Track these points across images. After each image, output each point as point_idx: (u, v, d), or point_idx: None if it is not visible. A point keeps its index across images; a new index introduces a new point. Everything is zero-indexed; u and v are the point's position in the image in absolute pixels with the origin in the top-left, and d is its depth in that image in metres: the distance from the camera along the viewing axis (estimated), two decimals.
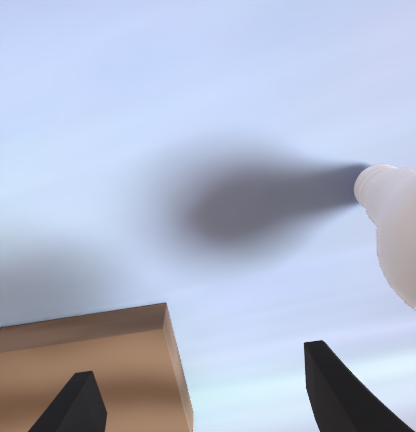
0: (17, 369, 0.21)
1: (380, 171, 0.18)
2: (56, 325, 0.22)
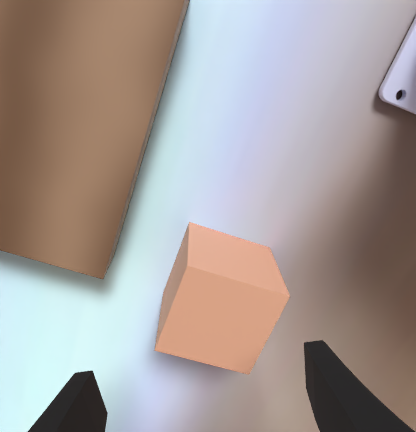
0: None
1: None
2: None
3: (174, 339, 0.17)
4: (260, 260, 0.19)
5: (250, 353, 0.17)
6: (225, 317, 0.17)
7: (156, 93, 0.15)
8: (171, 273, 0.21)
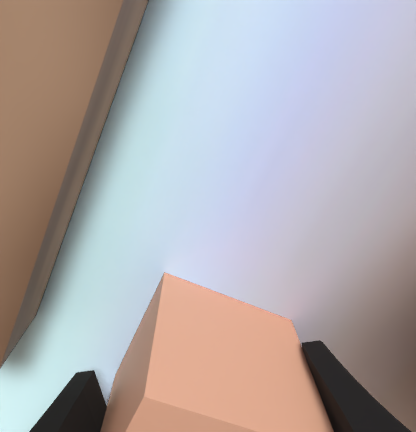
0: None
1: None
2: None
3: None
4: (280, 356, 0.11)
5: None
6: None
7: (113, 26, 0.07)
8: (128, 353, 0.13)
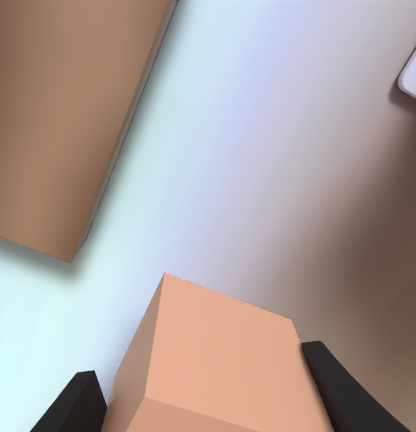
0: None
1: None
2: None
3: None
4: (280, 356, 0.11)
5: None
6: None
7: (149, 49, 0.13)
8: (128, 353, 0.13)
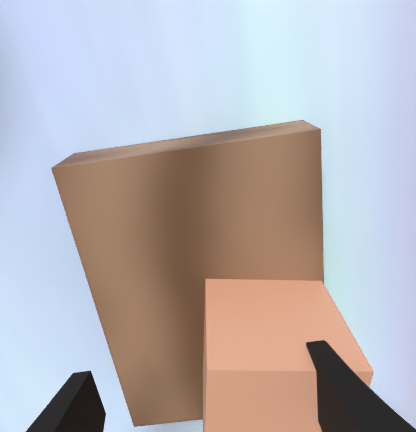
0: (140, 352, 0.17)
1: None
2: None
3: None
4: (313, 312, 0.13)
5: None
6: (286, 419, 0.11)
7: (321, 235, 0.14)
8: None
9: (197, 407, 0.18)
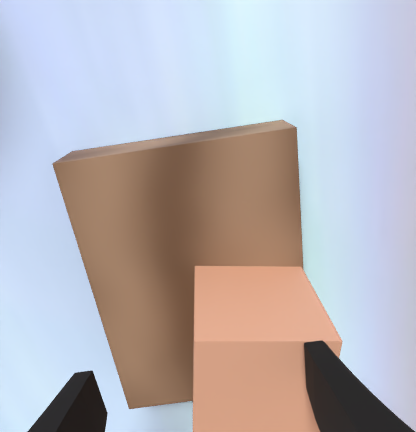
0: (134, 336, 0.18)
1: None
2: None
3: (211, 428, 0.13)
4: (292, 293, 0.14)
5: (313, 419, 0.13)
6: (266, 387, 0.13)
7: (299, 224, 0.16)
8: None
9: (188, 389, 0.19)
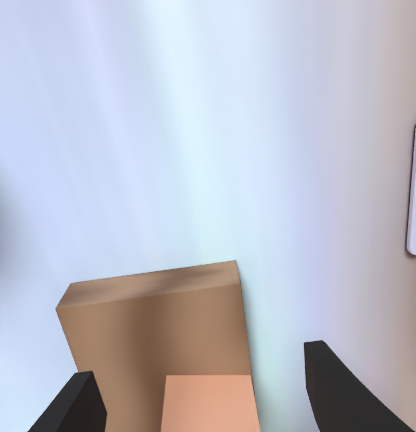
0: (120, 424, 0.22)
1: None
2: None
3: None
4: (237, 407, 0.19)
5: None
6: None
7: (247, 346, 0.20)
8: None
9: None
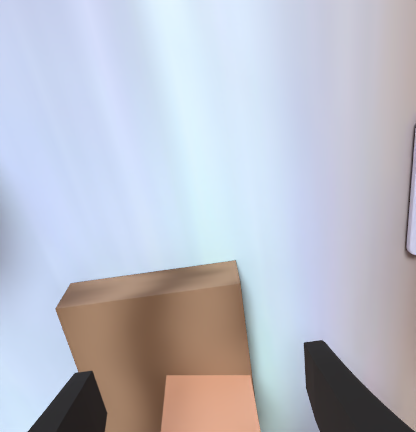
0: (120, 424, 0.22)
1: None
2: None
3: None
4: (237, 407, 0.19)
5: None
6: None
7: (247, 346, 0.20)
8: None
9: None
